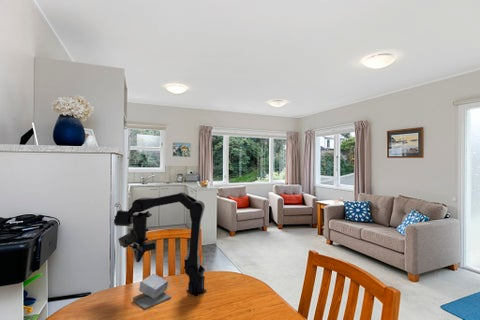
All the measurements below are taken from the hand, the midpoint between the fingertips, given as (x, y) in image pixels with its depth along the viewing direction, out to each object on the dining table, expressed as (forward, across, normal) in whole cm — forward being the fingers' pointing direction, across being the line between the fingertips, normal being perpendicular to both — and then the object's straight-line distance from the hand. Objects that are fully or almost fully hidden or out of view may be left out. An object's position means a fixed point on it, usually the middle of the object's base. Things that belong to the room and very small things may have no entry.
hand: (138, 262), depth 115 cm
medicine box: (+7, +5, +1) cm, 9 cm away
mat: (+12, +13, 0) cm, 18 cm away
